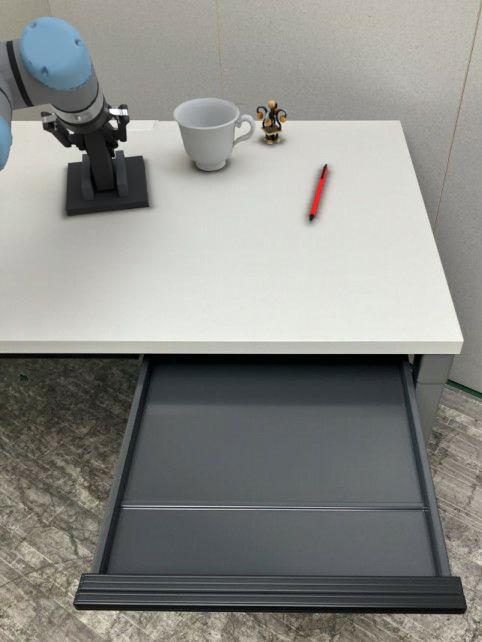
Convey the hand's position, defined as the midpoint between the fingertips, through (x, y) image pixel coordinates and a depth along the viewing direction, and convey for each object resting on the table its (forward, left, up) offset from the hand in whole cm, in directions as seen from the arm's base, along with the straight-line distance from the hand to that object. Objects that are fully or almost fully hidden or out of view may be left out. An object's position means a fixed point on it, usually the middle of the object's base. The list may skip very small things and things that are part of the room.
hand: (101, 151), depth 107 cm
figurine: (+33, +7, -5) cm, 34 cm away
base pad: (0, -4, -5) cm, 6 cm away
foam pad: (0, -4, -3) cm, 5 cm away
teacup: (+21, 0, -5) cm, 22 cm away
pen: (+37, -14, -5) cm, 40 cm away
